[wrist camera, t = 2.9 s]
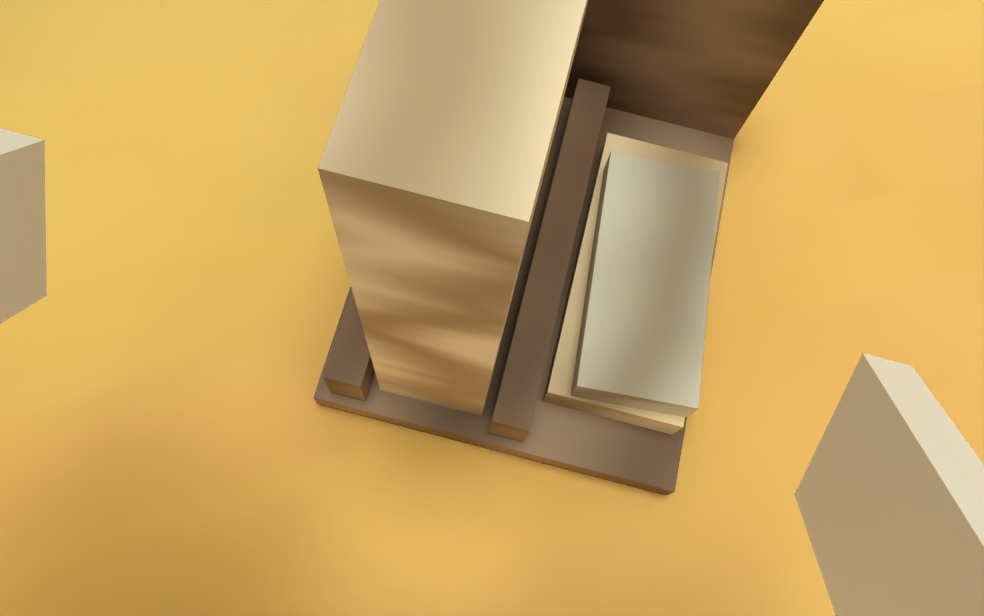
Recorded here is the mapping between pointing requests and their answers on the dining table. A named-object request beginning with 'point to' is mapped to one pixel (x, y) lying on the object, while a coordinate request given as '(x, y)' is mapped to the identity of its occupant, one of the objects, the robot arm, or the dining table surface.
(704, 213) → the offcut stack
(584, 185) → the walnut rack
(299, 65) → the dining table surface
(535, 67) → the birch board
